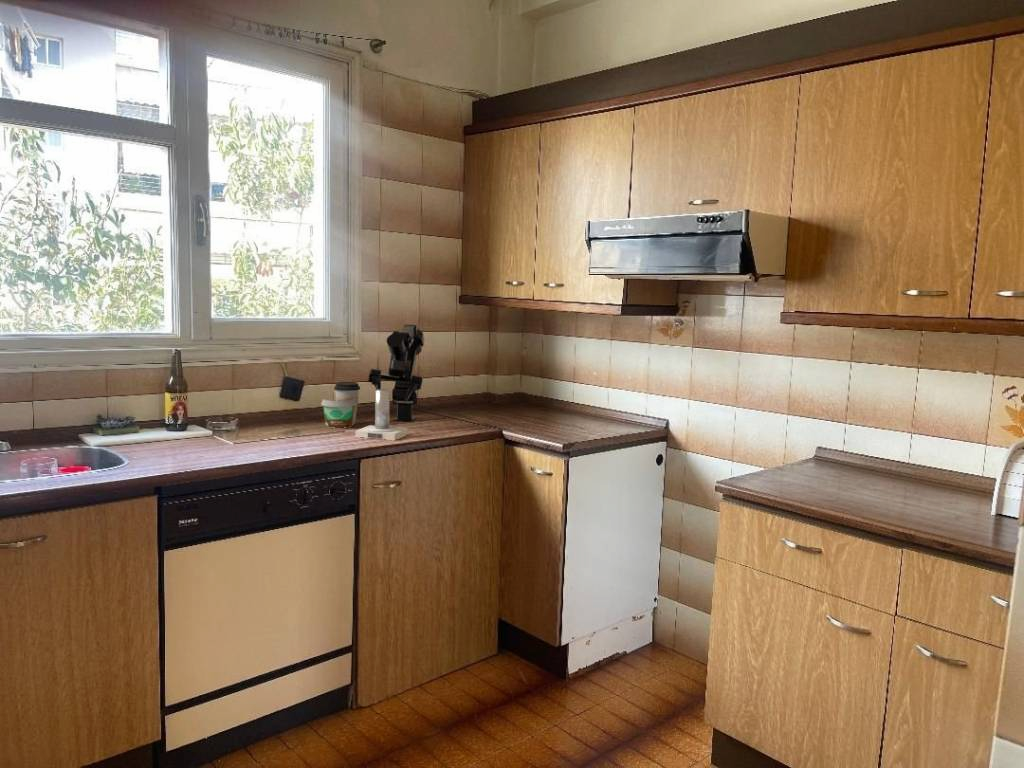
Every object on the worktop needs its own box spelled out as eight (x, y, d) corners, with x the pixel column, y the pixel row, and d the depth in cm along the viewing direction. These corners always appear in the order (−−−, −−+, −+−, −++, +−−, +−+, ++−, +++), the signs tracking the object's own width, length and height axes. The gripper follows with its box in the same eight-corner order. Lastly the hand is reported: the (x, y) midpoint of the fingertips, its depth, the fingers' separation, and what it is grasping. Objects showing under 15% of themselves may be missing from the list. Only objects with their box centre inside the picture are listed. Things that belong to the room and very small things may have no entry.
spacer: (382, 426, 257) (383, 388, 255) (392, 428, 254) (392, 390, 252) (371, 427, 253) (372, 389, 252) (381, 429, 250) (381, 391, 249)
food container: (321, 429, 262) (321, 401, 261) (321, 426, 268) (321, 398, 266) (357, 429, 265) (357, 401, 264) (356, 425, 271) (356, 398, 270)
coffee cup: (329, 425, 271) (329, 384, 269) (341, 420, 280) (341, 381, 278) (353, 426, 269) (353, 385, 267) (364, 422, 278) (364, 382, 276)
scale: (369, 431, 261) (369, 423, 260) (407, 434, 257) (407, 426, 257) (355, 437, 250) (355, 429, 249) (393, 440, 246) (394, 432, 246)
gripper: (373, 346, 261) (367, 385, 253) (426, 355, 264) (422, 393, 256) (371, 362, 270) (365, 400, 262) (422, 370, 273) (417, 408, 266)
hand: (392, 400), depth 261 cm, fingers open, 9 cm apart
